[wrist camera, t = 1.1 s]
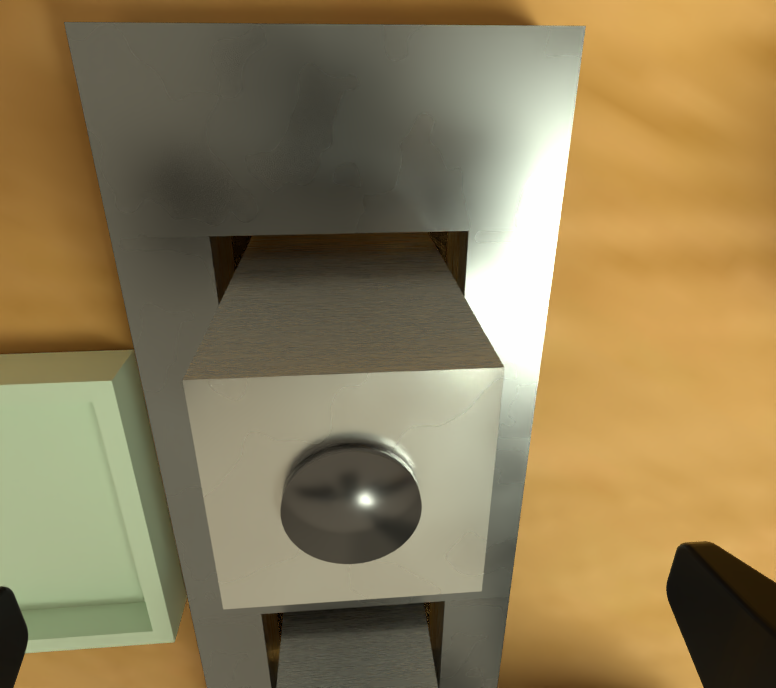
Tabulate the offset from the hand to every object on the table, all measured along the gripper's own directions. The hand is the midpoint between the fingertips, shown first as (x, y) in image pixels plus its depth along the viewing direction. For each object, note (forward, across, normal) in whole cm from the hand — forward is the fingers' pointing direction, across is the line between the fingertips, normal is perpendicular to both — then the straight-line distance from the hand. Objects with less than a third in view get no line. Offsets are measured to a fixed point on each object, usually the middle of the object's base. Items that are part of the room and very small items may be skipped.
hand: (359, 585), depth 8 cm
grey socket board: (+10, 0, +6) cm, 11 cm away
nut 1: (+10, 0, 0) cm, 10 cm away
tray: (+10, +11, +6) cm, 16 cm away
